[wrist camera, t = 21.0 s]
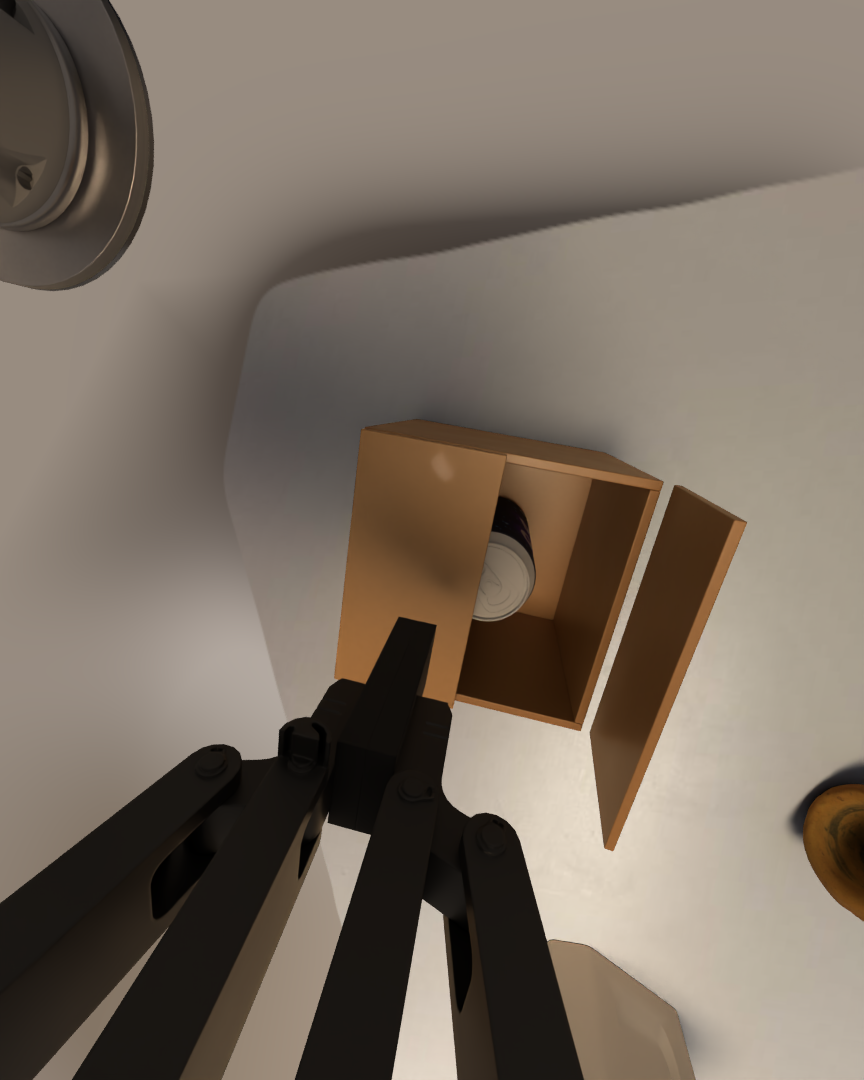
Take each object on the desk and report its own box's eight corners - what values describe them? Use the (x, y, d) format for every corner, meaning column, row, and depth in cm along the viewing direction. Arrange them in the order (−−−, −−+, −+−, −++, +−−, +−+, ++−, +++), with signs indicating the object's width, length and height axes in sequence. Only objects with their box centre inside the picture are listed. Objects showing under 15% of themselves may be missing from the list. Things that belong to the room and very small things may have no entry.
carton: (391, 586, 40) (279, 761, 20) (416, 418, 35) (301, 436, 16) (566, 625, 38) (628, 856, 19) (617, 454, 34) (769, 524, 14)
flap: (336, 674, 27) (333, 678, 27) (363, 428, 22) (360, 428, 22) (453, 704, 26) (452, 709, 26) (507, 454, 21) (507, 455, 21)
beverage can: (487, 572, 38) (477, 644, 26) (445, 521, 37) (417, 573, 26) (542, 533, 36) (557, 593, 25) (499, 479, 35) (495, 515, 24)
